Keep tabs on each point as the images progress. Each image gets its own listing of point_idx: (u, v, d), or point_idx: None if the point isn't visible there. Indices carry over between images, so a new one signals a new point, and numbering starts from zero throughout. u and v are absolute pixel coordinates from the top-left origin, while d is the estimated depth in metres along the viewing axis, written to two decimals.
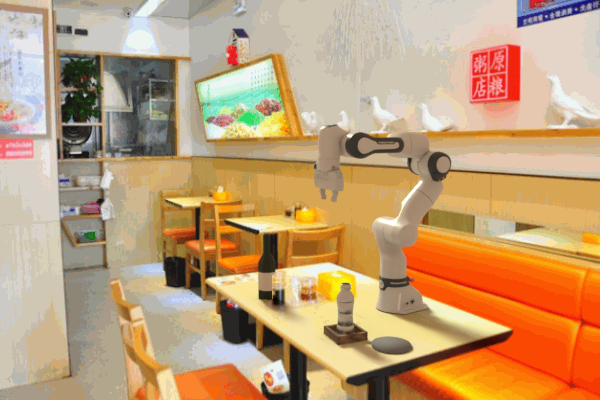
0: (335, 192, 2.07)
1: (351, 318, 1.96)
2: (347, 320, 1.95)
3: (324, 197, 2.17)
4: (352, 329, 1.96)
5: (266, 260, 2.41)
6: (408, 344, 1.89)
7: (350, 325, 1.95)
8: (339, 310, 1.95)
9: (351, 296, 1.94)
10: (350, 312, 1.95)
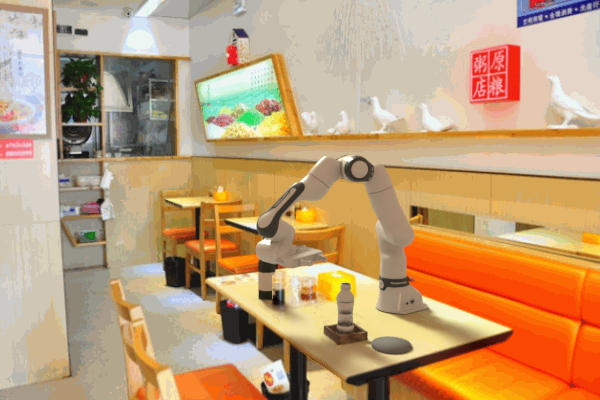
0: (300, 263, 1.99)
1: (351, 318, 1.96)
2: (347, 320, 1.95)
3: (323, 259, 2.06)
4: (352, 329, 1.96)
5: None
6: (408, 344, 1.89)
7: (350, 325, 1.95)
8: (339, 310, 1.95)
9: (351, 296, 1.94)
10: (350, 312, 1.95)
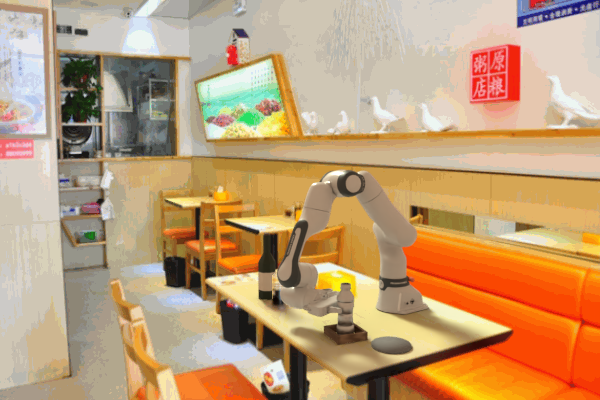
0: (330, 310, 1.94)
1: (351, 318, 1.96)
2: (347, 320, 1.95)
3: None
4: (352, 329, 1.96)
5: (267, 260, 2.41)
6: (408, 344, 1.89)
7: (350, 325, 1.95)
8: None
9: (351, 296, 1.94)
10: (350, 312, 1.95)
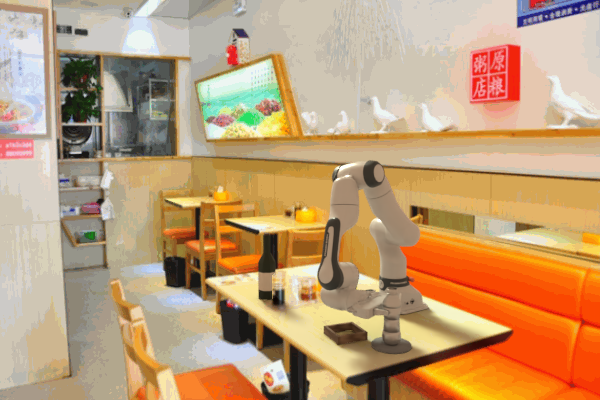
0: (375, 312, 1.85)
1: (398, 324, 1.87)
2: (394, 326, 1.86)
3: None
4: (399, 336, 1.87)
5: (267, 260, 2.41)
6: (408, 344, 1.89)
7: (397, 331, 1.87)
8: (386, 316, 1.87)
9: (398, 301, 1.86)
10: (397, 318, 1.86)
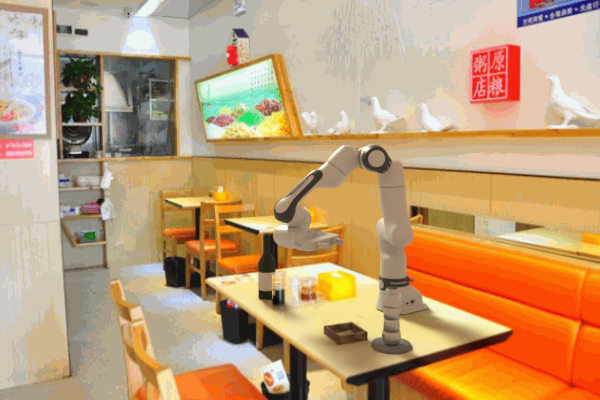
0: (317, 246, 2.05)
1: (398, 324, 1.87)
2: (394, 326, 1.86)
3: (340, 242, 2.11)
4: (399, 336, 1.87)
5: (267, 260, 2.41)
6: (408, 344, 1.89)
7: (397, 331, 1.87)
8: (385, 316, 1.87)
9: (398, 301, 1.86)
10: (397, 318, 1.86)
